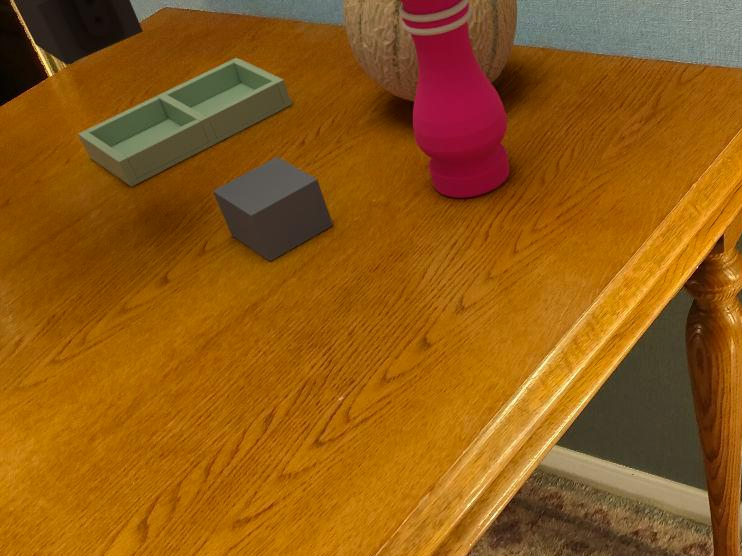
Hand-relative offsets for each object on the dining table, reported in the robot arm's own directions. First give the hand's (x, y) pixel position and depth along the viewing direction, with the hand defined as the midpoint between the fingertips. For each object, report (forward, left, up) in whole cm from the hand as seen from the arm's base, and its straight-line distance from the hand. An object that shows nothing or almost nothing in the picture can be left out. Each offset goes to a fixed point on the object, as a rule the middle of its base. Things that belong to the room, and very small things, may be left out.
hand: (84, 30), depth 72 cm
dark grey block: (0, 0, -1) cm, 1 cm away
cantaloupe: (+27, -4, -15) cm, 31 cm away
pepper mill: (+19, -17, -15) cm, 29 cm away
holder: (+9, +13, -15) cm, 22 cm away
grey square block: (+5, -10, -15) cm, 19 cm away
